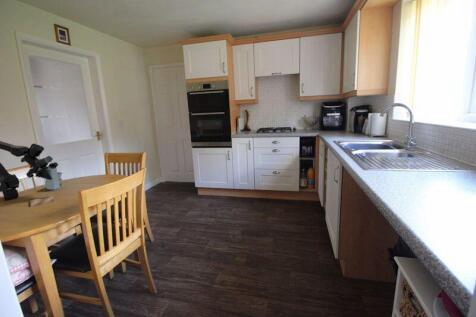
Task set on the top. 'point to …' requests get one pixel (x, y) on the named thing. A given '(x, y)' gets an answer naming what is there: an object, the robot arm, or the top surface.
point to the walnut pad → (41, 201)
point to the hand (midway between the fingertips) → (53, 178)
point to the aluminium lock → (52, 178)
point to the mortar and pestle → (59, 181)
